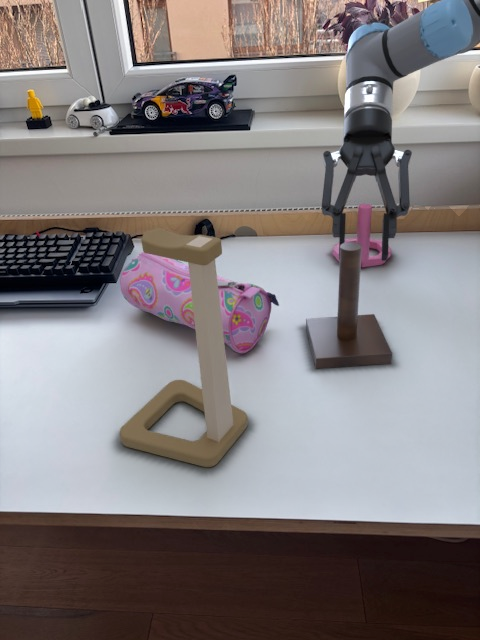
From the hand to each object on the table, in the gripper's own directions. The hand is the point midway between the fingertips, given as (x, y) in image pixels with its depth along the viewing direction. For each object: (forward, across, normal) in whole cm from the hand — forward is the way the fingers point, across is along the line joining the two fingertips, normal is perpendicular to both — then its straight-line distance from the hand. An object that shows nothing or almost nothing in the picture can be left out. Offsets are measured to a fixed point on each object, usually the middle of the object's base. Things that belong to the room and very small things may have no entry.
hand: (362, 256), depth 82 cm
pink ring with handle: (-3, 0, +8) cm, 8 cm away
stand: (+16, -2, -11) cm, 19 cm away
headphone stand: (+28, -18, -23) cm, 40 cm away
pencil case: (+14, -22, -9) cm, 27 cm away
